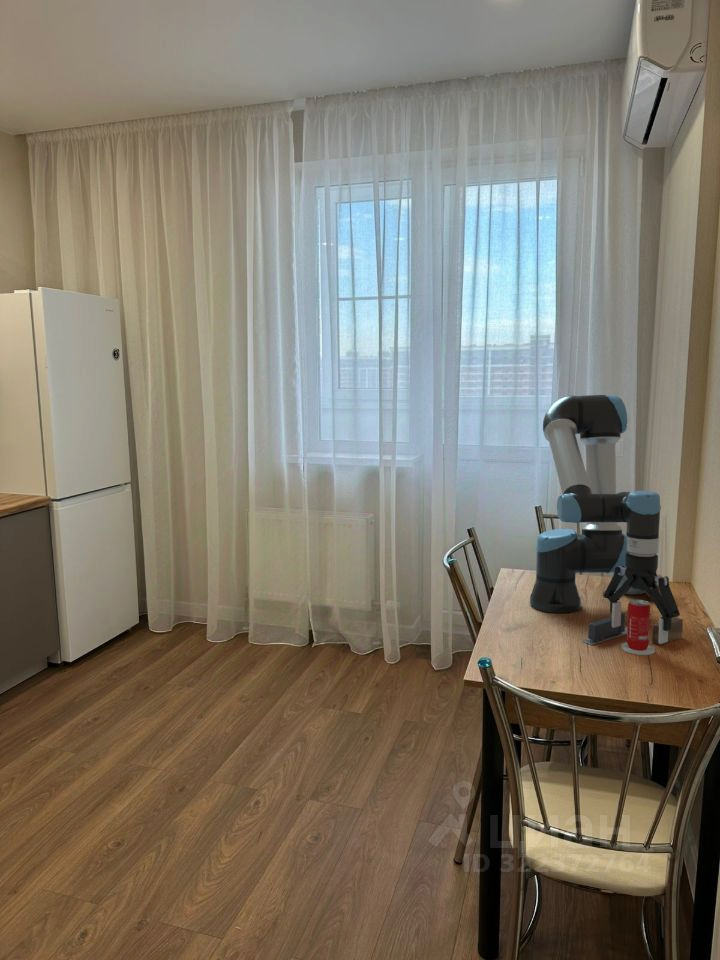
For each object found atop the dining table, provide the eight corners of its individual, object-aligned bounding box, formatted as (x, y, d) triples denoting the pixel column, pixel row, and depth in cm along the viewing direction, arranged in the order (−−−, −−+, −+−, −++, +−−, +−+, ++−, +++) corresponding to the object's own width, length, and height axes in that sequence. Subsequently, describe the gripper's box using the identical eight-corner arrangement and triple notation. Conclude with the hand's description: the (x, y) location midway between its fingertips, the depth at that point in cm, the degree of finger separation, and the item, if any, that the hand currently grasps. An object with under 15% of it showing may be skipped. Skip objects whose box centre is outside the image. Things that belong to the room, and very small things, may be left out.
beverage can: (629, 650, 168) (630, 605, 167) (625, 643, 173) (626, 598, 172) (650, 651, 167) (652, 605, 166) (646, 644, 172) (647, 599, 171)
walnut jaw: (652, 643, 174) (652, 624, 173) (675, 635, 179) (675, 617, 179) (659, 645, 172) (659, 627, 172) (682, 637, 178) (682, 619, 177)
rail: (581, 641, 176) (581, 640, 176) (641, 622, 189) (641, 621, 189) (591, 645, 173) (591, 644, 173) (651, 625, 186) (651, 624, 186)
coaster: (614, 647, 172) (614, 646, 171) (634, 641, 176) (634, 639, 176) (642, 657, 165) (642, 656, 165) (661, 650, 169) (662, 649, 169)
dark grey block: (587, 637, 177) (587, 619, 176) (616, 628, 183) (617, 610, 182) (595, 640, 175) (596, 621, 174) (624, 631, 181) (625, 613, 180)
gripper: (591, 545, 175) (589, 623, 178) (679, 565, 154) (675, 653, 157) (609, 541, 179) (607, 617, 182) (697, 560, 158) (693, 646, 161)
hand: (638, 634), depth 170 cm, fingers open, 13 cm apart
